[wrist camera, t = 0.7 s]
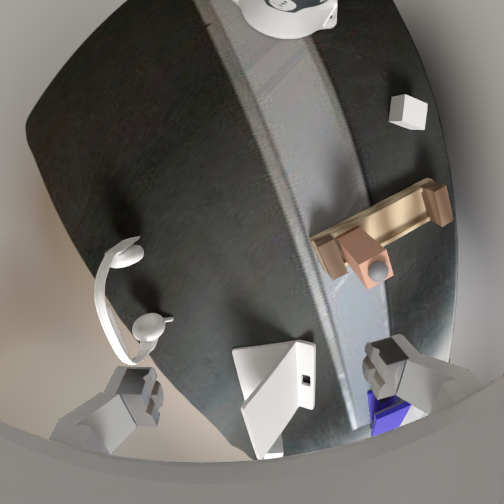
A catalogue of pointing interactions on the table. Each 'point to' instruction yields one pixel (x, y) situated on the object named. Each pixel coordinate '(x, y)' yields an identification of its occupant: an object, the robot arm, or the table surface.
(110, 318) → the headset
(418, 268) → the table surface
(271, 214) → the table surface
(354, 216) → the track
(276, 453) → the small box
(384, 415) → the stapler
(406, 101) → the white cube
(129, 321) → the table surface
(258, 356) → the tablet stand
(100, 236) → the table surface
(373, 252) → the pink capped carton
